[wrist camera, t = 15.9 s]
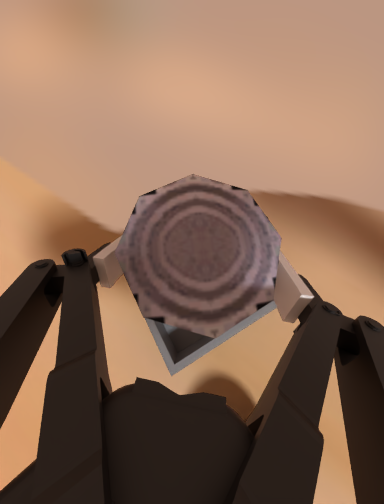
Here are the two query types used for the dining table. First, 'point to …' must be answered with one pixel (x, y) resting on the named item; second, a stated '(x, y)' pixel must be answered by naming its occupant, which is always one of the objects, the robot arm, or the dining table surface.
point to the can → (199, 255)
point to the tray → (193, 340)
